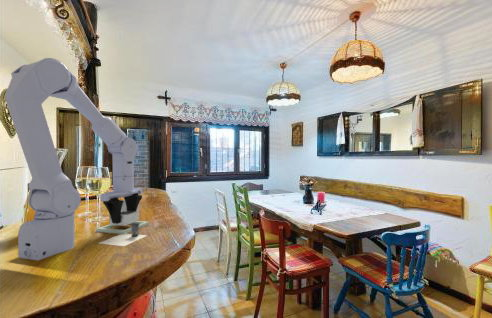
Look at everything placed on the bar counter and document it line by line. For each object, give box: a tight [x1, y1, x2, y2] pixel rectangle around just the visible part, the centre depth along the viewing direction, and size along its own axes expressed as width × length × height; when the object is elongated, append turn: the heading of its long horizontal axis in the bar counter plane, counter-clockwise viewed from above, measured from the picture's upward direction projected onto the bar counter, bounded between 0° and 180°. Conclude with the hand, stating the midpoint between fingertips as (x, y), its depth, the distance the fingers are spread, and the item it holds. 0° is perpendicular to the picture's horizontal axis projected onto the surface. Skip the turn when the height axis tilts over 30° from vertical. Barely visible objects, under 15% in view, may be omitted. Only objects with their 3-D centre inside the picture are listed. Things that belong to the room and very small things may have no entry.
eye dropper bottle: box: [121, 194, 140, 220], centre depth 81 cm, size 4×6×12 cm
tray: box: [96, 220, 150, 235], centre depth 71 cm, size 10×10×2 cm
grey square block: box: [109, 211, 139, 227], centre depth 71 cm, size 5×5×3 cm
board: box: [98, 233, 147, 247], centre depth 61 cm, size 8×8×1 cm
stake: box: [130, 223, 140, 237], centre depth 63 cm, size 2×2×3 cm
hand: (123, 220), depth 71 cm, fingers closed on grey square block, 5 cm apart
